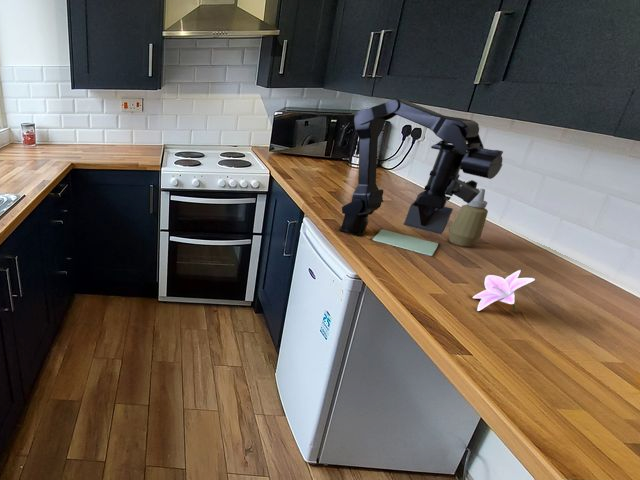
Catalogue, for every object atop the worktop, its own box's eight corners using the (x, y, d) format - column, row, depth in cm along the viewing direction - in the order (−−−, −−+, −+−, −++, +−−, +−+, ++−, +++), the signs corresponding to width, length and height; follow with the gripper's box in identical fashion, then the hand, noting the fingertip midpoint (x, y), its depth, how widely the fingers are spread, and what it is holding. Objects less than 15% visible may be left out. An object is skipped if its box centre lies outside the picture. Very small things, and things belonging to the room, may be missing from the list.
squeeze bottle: (465, 239, 131) (487, 186, 124) (482, 249, 124) (507, 194, 117) (439, 237, 132) (459, 184, 125) (455, 247, 125) (477, 192, 117)
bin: (403, 224, 114) (410, 205, 112) (408, 219, 119) (415, 200, 116) (441, 234, 109) (449, 214, 106) (445, 228, 113) (453, 208, 111)
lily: (482, 294, 101) (473, 262, 98) (548, 298, 91) (541, 263, 88) (467, 324, 95) (458, 291, 92) (537, 332, 85) (528, 295, 83)
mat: (372, 240, 128) (372, 238, 128) (381, 230, 136) (382, 229, 136) (432, 256, 118) (432, 255, 118) (438, 244, 126) (438, 243, 126)
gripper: (480, 181, 95) (455, 240, 102) (487, 169, 108) (464, 222, 115) (425, 171, 102) (405, 227, 109) (438, 161, 115) (419, 212, 121)
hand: (425, 222), depth 113 cm, fingers closed on bin, 6 cm apart
